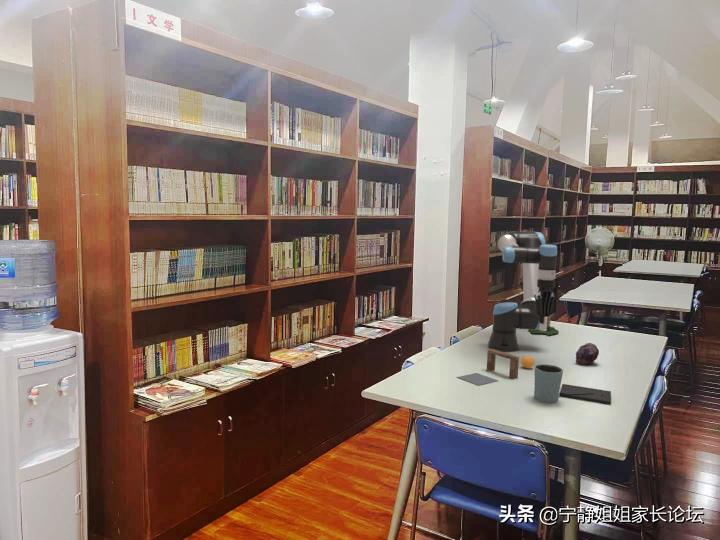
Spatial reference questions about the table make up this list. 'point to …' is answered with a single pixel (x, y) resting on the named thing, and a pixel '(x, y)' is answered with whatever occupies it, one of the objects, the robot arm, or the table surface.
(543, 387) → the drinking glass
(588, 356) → the rock
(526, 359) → the ball
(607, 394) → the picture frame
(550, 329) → the bonsai tree
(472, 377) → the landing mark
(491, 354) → the bridge
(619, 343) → the table surface
